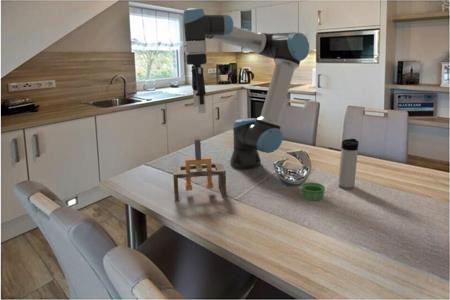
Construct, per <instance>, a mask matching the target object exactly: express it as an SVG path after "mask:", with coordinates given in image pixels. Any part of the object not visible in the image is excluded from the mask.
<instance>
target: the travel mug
mask: <svg viewBox="0 0 450 300" xmlns="http://www.w3.org/2000/svg"><path fill="white" fill-rule="evenodd" d="M341 142H342V143H341V152H340V163H339V174H338V175H339V177H338V187H339V188H340V189H343V190H353V189H355V185H356V184H355V183H356V176H357V175H356V174H357V173H356V172H357V165H358V164H357V163H358V155H359V153H358V151H359V140H357V139H356V138H348V139H344V140H342V141H341Z"/></svg>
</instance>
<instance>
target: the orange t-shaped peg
mask: <svg viewBox="0 0 450 300" xmlns="http://www.w3.org/2000/svg"><path fill="white" fill-rule="evenodd" d="M201 143H202V142H201V138H200V137H195V138H194V156H195V157H193V158H185V159H184V161H185V165H186V170H185V173H186V172H191V170H190V165H197V164H207V168H206V171H212V169H213V168H211V163H212V157H210V156H209V157H208V156H207V157H202V149H201V148H202V147H201ZM191 178H192V177H187V178H185V179H186V181H185V190H186V192H187V191H193V184H192V181H191ZM206 179H207V180H205V185H206V188H207V190H211V189H212V190H213V189H214V187H215V185H214V183H213V177H212V176H206Z"/></svg>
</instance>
